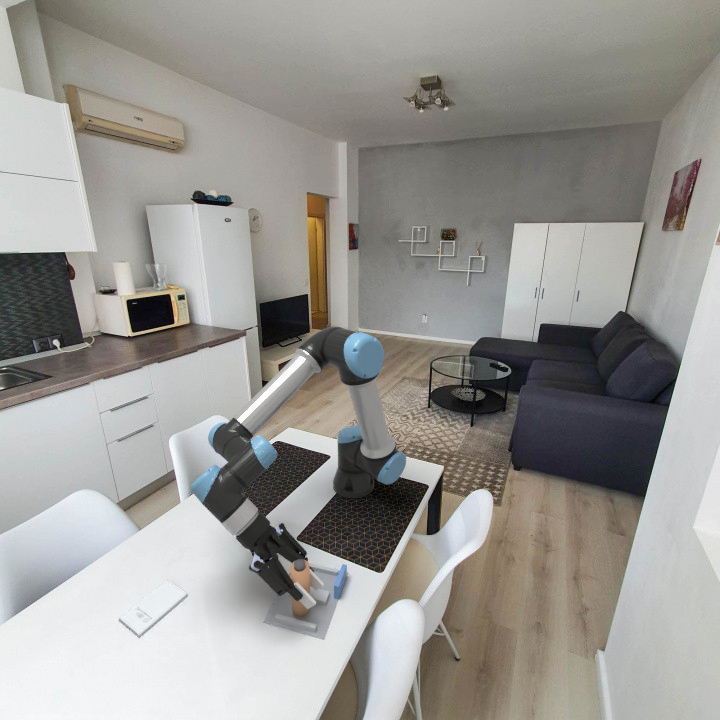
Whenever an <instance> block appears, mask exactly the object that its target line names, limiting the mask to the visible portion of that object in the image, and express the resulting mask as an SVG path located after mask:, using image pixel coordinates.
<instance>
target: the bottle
mask: <svg viewBox="0 0 720 720" xmlns="http://www.w3.org/2000/svg"><path fill="white" fill-rule="evenodd" d="M309 563H310V562H308V561H306V560H303V559H298V560H296V561H294V562H293V563H291V564H290V567H289V574H290V576H291V579H292V581H293V583H295V582H298V583H299V584H300V585H301V586H302V587H303V588H304V589H305V590H306V592H307V593H308V594H309V595H310V567H309ZM292 611H293V613H294V614H296V615H298V616H302V615H305V614H307V613H308V612H309V611H310V608H309V609H307V608H306V607H305V606H304V605H303V604H302V603H301V602H300V601H296V600H295V599H294V598H293V597H292Z"/></svg>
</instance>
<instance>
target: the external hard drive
mask: <svg viewBox="0 0 720 720" xmlns="http://www.w3.org/2000/svg"><path fill="white" fill-rule="evenodd" d="M187 597H189V596H188V593H187V592H186V591H184V590H183V589H182V588H180V587H179V586H177V585H176V584H174V583H173V582H171V580H169V579H167V580H165V581H164V582H162V583H161V584H160V585H158V587H156V588H155V589H153V590H152V591H151V592H150V593H149V594H147V595H146V596H145V597H142V599H141V600H140V601H138V602H137V603H136V604H135V605H134V606H132V607H130V608H129V609H128V610H127V611H126V612H124V613H123V614H121V616H119V617H118V621H119V622H120V623H121V624H123V626H125V627H126V628H128V629H129V630H130V631H131V632H132V633H133V634H134V635H135V636H137V637H138V638H139V639H140V638H141V637H142V636H144V635H145V634H146V633H147V632H148V631H150V630H151V629H153V627H154V626H155V625H156V624H158V623H159V622H160V621H161V620H162V619H164V617H165V616H167V615H168V614H169V613H170V612H172V610H174V609H175V608H177V607H178V605H179V604H181V602H183V601H184V600H186V598H187Z"/></svg>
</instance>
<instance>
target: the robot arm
mask: <svg viewBox="0 0 720 720" xmlns="http://www.w3.org/2000/svg"><path fill="white" fill-rule="evenodd" d="M384 361H385V350H384V347H383V345H382V343H381V342H380V340H379V339H378V338H376V337H375V336H373V335H370V334H368V333H366V332H363V331H356V330H351V329H348V328H345V327H344V328H343V327H340V326H329V327H326V328H323V329H321V330H319V331H317V332H316V333H314V334H312V336H310V337H309V338H307V339H306V340H305V341H304V342H303V343H302V344H301V345H299V347H297V348H296V349H295V355H294V356H293V357H292V358H291V359H290V360H289V361H288V362H287V363H286V364H285V365H284V366H283V367H282V368H281V369H280V370H279V371H278V372H277V373H276V374H275V375H274V376H273V377H272V378H271V379H270V380H269V381H268V382H267V383H266V384H265V385H264V386H263V387H262V388H261V389H260V390H259V391H258V392H257V393H256V394H255V395H254V396H253V397H252V398H251V399H250V400H249V401H248V402H247V403H246V404H245V405H244V406H242V408H241V409H240V410H239V411H238V412H237V413H236V414H234V416H233V417H232V418H230V420H229V421H228V422H224V421H223V422H220V423H217V424H215V425H214V426H212V428H211V429H210V431H209V432H208V436H207V437H208V438H207V440H208V443H209V445H210V446H211V448H212V449H213V450H214V452H215V453H216V454H218V455H220V456H221V457H222V458H223V459H224V460H225V461H226V462H227V463H226V464H224V465H223V466H222V467H219V466H218V465H216V464H213V465H211V466H210V467H209V468H207V469H206V470H205V471H204V472H203V473H201V475H200V476H198V478H196V479H195V480H194V481H193V482H192V484H191V485H190V490H191V493H193V495H194V496H195V497H196V499H198V501H199V502H200V503H201V504H202V505H203V507H204V508H206V509H207V510H208V512H209V513H210V514H211V515H212V516H214V517H215V519H217V520H218V522H220V524H221V525H222V526H223V527H224V528H225V529H226V530H227V531H228V532H229V533H230V534H231V535H232V536H235V539H236V541H237V542H238V543H239V544H240V545H241V546H242V547H243V548H244V549H246V550H248V551H249V552H250V553H251V556H252V561H251V562H252V563H251V564H250V565H249V566H248V569H249V571H251V572H253V573H254V574H257V575H258V577H260V578H261V579H262V580H263V581H264V582H265V584H266V585H267V586H269V587H270V589H271V590H272V591H273V592H275V593H276V595H277V596H278V595H279V596H282V595H283V594H285V593H286V592H288V593H289V594H290V595H291V596H292V597H293V598H294V599H295V600H296V601H300V602H301V603H302V604H303V605H304V606H305V607H306V608H307V609H309V608H311V607H313V606H314V605H315V604H316V601H315V600H314V599H313V598H312V597H311V596H310V595H309V594H308V593H307V592H306V590H305V589H304V588H303V587H302V586H301V585H300V584H299V583H298V582H295V583H293V581H292V579H291V578H290V576H289V574H288V572H287V571H286V569H285V567H284V566H283V564H282V562H281V561H280V559H279V556H281V557H282V558H284V559H285V560H287V561H288V562H289V563H291V564H292V563H293V562H294V561H296V560H298V559H303V560H306V561H307V562H308V561H309V558H308V557H307V556H308V552H307V551H306V549H305V548H304V547H303V546H302V545H301V544H300V543H299V542H298V541H297V539H296V538H294V536H293V535H292V534H291V533H290V531H288V530H287V527H286V526H285V524H284V522H281V523H279V524H278V525H276V526H272V525H271V522H270V520H269V519H268V518H267V517H266V516H265V514H263V512H259V508H258V507H257V506H256V505H255V504H254V503H253V502H252V501H251V500H250V499H249V498H248V497H247V496H246V495H245V494H244V491H245V490H246V489H247V488H248V487H250V485H252V483H254V482H255V481H256V480H257V479H258V478H259V477H260V476H261V475H262V474H263V473H264V472H265V471H266V470H268V469H269V467H270V466H271V465H272V464H273V462H274V461H276V459H277V458H278V451H277V450H276V448H275V447H274V445H272V444H271V442H270V441H269V440H268V439H266V438H265V436H263V435H257V433H258V432H259V431H260V430H261V429H263V428H264V426H265V425H266V424H267V423H268V422H269V421H270V420H271V419H272V418H273V417H274V415H276V414H277V412H278V411H280V410H281V408H282V407H283V406H284V405H285V404H286V403H287V402H288V401H289V400H290V399H291V398H292V397H293V396H294V395H295V393H297V391H298V390H299V389H300V388H301V387H303V385H304V384H305V383H306V382H307V381H308V380H309V379H310V378H311V377H312V376H313V375H314V374H319V373H321V371H322V370H324V369H325V368H326V367H328V366H331V367H334V368H336V369H337V371H338V375H339V378H340V382H341V383H342V384H343V385H344V386H347V388H348V392H349V394H350V398H351V402H352V406H353V410H354V413H355V417H356V421H357V424H358V425H349V426H346V427H343V428H342V429H341V430H339V432H338V436H337V468H336V472H335V475H334V477H333V480H332V488H333V490H334V492H335V493H336V494H338V496H341V497H343V498H347V499H359V498H364V497H367V496H368V495H370V494H371V493H372V492H373V491H374V488H375V480H376V481H377V482H379V483H382V484H384V485H391V484H392V485H393V484H394V483H395V482H396V481H397V480H398V479H399V478H400V477H401V476H402V474H403V472H404V470H405V468H406V465H407V464H406V463H407V456H406V454H405V453H403V451H401V450H399V449H398V448H397V443H396V440H395V438H394V437H393V436H392V435H391V434H390V433H389V430H388V425H387V421H386V416H385V412H384V408H383V403H382V399H381V396H380V395H381V394H380V391H379V386H378V381H377V378H378V377H379V376H380V372H381V371H382V369H383V366H384V364H383V362H384ZM255 435H257V436H255ZM254 436H255V437H254ZM374 479H375V480H374ZM309 567H310V566H309ZM310 585H311V586H312V587H313V588H314V589H315V591H316V590H318V589H319V588H321V587H323V585H324V583H323V582H322V581H321V580H320V579H319V578H318V577H317V576H316V575H315V573H314V570H313V569H312V568H311V567H310Z"/></svg>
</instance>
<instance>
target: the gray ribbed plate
mask: <svg viewBox="0 0 720 720" xmlns="http://www.w3.org/2000/svg"><path fill="white" fill-rule="evenodd" d="M308 563H309V566H310V567H311V568H312V569H313V570H314V573H315V575H316V576H317V577H318V578H319V579H320V580H321V581H322V582H323V583H324V585H323V587H321V588H319V589H318V590H316V591H315V589H314V588H313V587H312V586H311V585H310V596H311V597H312V598H313V599H314V600H315V601H316V604H315V605H314V606H313V607H311V608H310V611H309V612H308V613H307V614H305V615H302V616H298V615H296V614H294V613H293V611H292V596H291V595H290V594H289V593H288V592H286V593H285V594H283V595H282V596H279V595H278V594H277V596H276V598H275V599H274V602H273V604H272V606H271V607H270V609H269V611H268V613H267V614H266V616H265V618H264V620H263V624H266V625H270V626H273V627H277V628H281V629H284V630H288V631H291V632H294V633H298V634H301V635H306V636H308V637H312V638H315V639H319V640H323V641H324V640H325V639H326V636H327V633H328V629H329V628H330V625H331V622H332V619H333V616H334V615H335V610H336V608H337V605H338V603H339V600H340V597H341V594H342V591H343V588H344V586H345V584H346V581H347V577H348V575H349V571H348V569H347V568H348V565H347V564H345V563H342V564H341V566H340V568H339V569H338V568H332V567H328V566H323V565H320V564H316V563H311V562H308ZM288 575H289V576H290V573H289V574H288ZM290 578H291V576H290Z"/></svg>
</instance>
